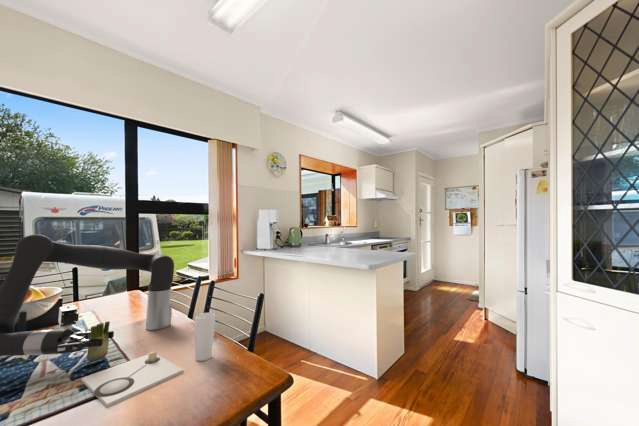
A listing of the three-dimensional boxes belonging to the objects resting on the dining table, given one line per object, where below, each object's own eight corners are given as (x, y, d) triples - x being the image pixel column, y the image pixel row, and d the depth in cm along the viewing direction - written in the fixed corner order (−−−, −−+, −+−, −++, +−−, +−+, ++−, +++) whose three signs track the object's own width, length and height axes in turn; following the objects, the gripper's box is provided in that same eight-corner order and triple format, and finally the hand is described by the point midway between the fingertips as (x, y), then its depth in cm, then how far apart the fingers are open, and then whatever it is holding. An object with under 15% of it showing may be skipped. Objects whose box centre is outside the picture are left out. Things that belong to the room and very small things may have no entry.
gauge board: (153, 354, 94) (153, 345, 94) (183, 372, 83) (183, 361, 83) (78, 381, 77) (79, 370, 77) (104, 408, 66) (105, 394, 66)
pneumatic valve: (59, 339, 105) (62, 309, 105) (56, 331, 112) (59, 303, 113) (78, 335, 109) (80, 306, 110) (74, 328, 116) (76, 301, 117)
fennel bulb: (106, 353, 91) (109, 319, 91) (110, 358, 87) (112, 323, 88) (84, 359, 86) (87, 323, 87) (87, 365, 83) (90, 327, 83)
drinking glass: (217, 355, 94) (219, 313, 95) (203, 364, 88) (205, 319, 89) (202, 352, 97) (204, 311, 98) (188, 360, 90) (190, 317, 91)
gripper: (30, 339, 78) (95, 335, 81) (66, 322, 92) (120, 319, 95) (28, 365, 77) (93, 360, 81) (64, 343, 91) (118, 340, 95)
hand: (107, 338), depth 88 cm, fingers closed on fennel bulb, 5 cm apart
